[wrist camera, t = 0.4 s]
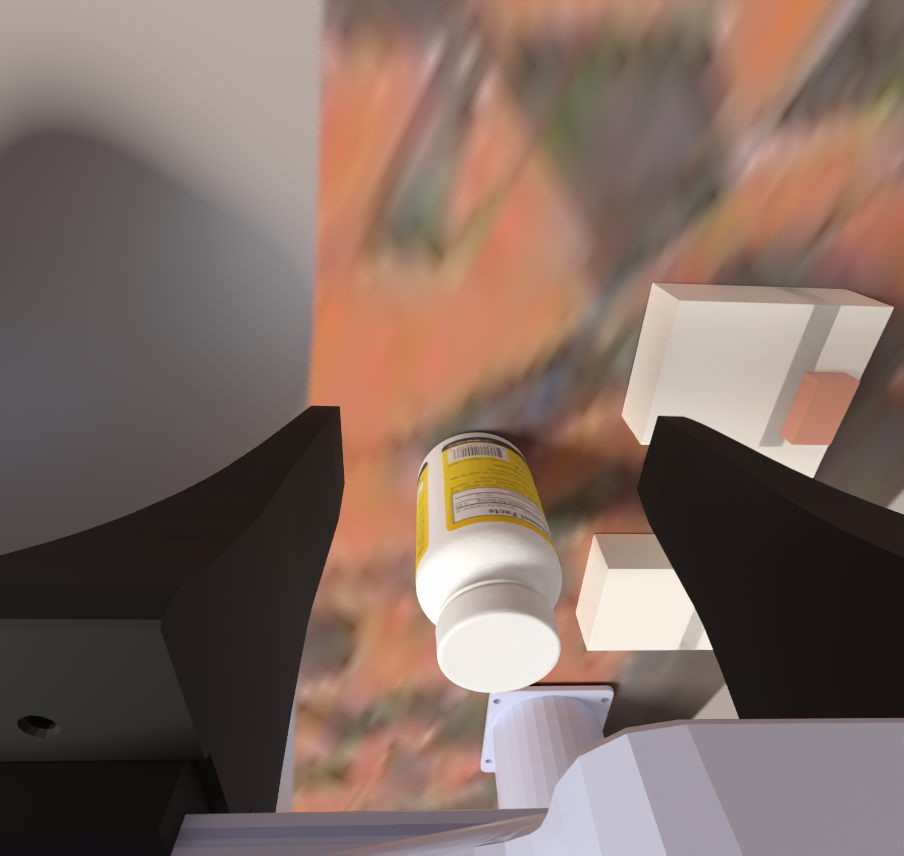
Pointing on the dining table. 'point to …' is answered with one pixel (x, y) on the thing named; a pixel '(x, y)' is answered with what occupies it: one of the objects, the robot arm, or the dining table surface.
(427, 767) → the dining table surface
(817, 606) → the robot arm
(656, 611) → the socket dock
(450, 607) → the supplement bottle
